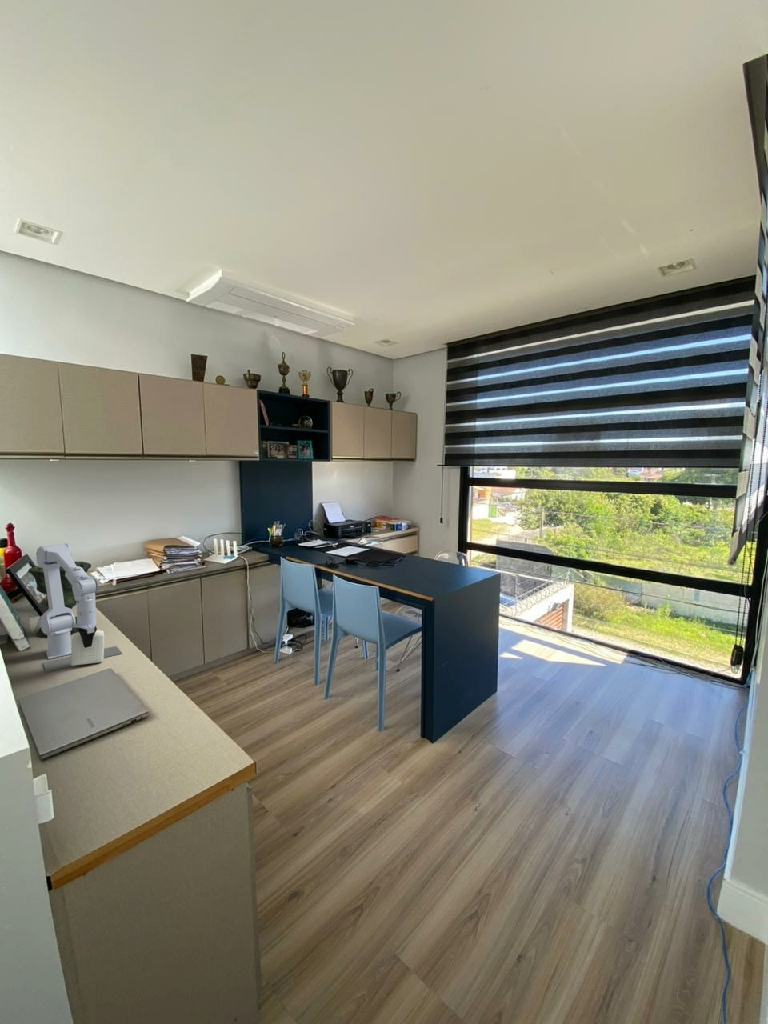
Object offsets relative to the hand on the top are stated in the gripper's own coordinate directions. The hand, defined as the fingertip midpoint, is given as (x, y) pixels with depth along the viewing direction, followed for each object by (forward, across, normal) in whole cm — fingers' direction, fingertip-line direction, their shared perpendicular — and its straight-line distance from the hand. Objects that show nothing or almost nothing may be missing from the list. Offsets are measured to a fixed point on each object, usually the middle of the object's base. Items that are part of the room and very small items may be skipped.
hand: (87, 646), depth 156 cm
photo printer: (+8, -2, 0) cm, 8 cm away
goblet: (+8, -51, -1) cm, 52 cm away
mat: (+8, -10, 0) cm, 12 cm away
